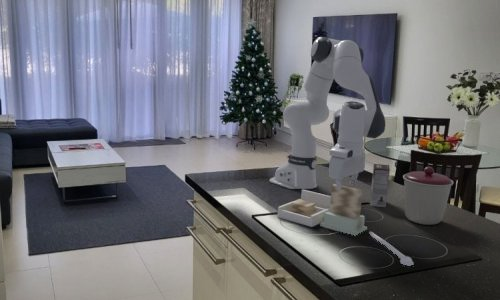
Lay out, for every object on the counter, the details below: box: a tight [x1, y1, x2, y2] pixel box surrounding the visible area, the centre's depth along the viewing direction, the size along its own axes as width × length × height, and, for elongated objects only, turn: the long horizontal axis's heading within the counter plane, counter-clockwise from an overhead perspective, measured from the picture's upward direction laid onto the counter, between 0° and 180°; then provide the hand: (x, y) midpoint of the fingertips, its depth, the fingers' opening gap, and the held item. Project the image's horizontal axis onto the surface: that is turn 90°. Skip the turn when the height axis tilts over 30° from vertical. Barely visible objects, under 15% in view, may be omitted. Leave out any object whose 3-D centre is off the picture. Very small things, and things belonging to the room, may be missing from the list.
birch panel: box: [330, 183, 363, 229], centre depth 181 cm, size 11×2×14 cm, turn 52°
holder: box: [319, 212, 368, 237], centre depth 182 cm, size 14×9×5 cm, turn 52°
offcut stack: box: [292, 199, 315, 217], centre depth 190 cm, size 7×6×6 cm
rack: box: [277, 189, 331, 228], centre depth 191 cm, size 15×15×8 cm
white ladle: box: [368, 231, 415, 266], centre depth 164 cm, size 28×4×3 cm, turn 14°
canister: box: [402, 166, 455, 226], centre depth 192 cm, size 18×18×21 cm
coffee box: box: [370, 163, 391, 208], centre depth 212 cm, size 9×6×16 cm
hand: (345, 187), depth 179 cm, fingers open, 8 cm apart
